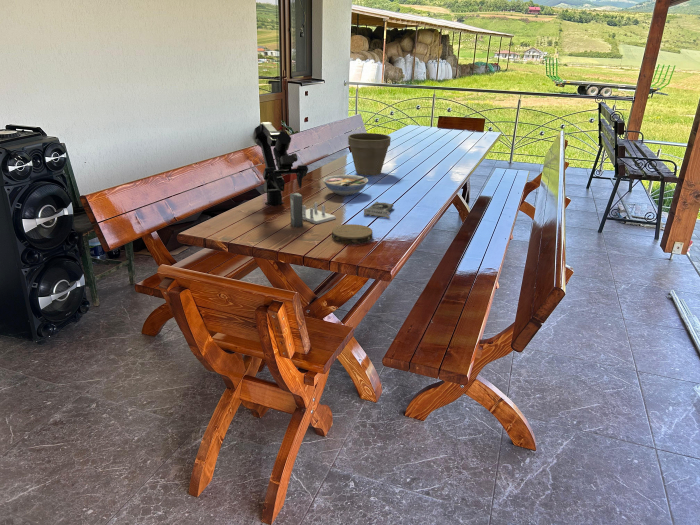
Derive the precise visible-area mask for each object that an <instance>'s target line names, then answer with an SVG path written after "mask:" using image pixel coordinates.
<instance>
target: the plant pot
mask: <svg viewBox="0 0 700 525" xmlns="http://www.w3.org/2000/svg"><path fill="white" fill-rule="evenodd" d="M347 139H348V140H347V141H348V142H347V144H348V146H349V148H350V153H351V156H352V160H353V165H354V168H355V172H356V174H357V173H358V174H357V175H360V174H361V175H360V176H367V175H372V176H377V175H380V174H381V172H382V170H383V167H384V163H385V160H386V157H387V153H388V149H389V147H390V146H391V140H392V139H391V136H390V135H388V134H383V133H377V132H373V133H372V132H359V133H357V132H356V133H352V134H349V135H348V137H347Z"/></svg>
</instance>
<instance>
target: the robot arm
mask: <svg viewBox="0 0 700 525" xmlns="http://www.w3.org/2000/svg"><path fill="white" fill-rule="evenodd" d="M253 139H254V140H255V143H256V145H257V146H258V147H260V149H261V153H262V158H263V162H264V165H265V167H264V169H263V173H262V178H263V180H264V183H263V191H264V192H265V193H266V200H267V201H266V202H264V204H265V205H268V206H274V207H277V206H280V205H281V204H284V203H285V202H284V201H283V195H282V192H284V191H285V184H286V181H285V179H284V178H283V175H292V174H295V175H296V181H297V185H298V188H299V189H300V190H301V189H302V185H303V184H302V182H303V179H304V178H305V177H306V176H307V174H308V171H309V167H308V165H306V164H299V165H298V164H297V167H296V168H293V167H294V163H297V161H299V159H298V155H297V153H292V154H289V153H288V150H289V148H290V145H291V142H292V137H291V136H290V135H289V134H288V133H286V131H285V130H279V131H278V130H277V129H276V128H275V127H274V126H273V124H272V122H271V121H267V122H266V121H262V122H260V123H259V125H258V126H256V127H255V128H254V130H253ZM272 147H273V149H272Z"/></svg>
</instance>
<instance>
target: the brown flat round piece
mask: <svg viewBox="0 0 700 525" xmlns="http://www.w3.org/2000/svg"><path fill="white" fill-rule="evenodd" d="M331 238H333V239H334V240H333V239H332V240H333V241H335V242H337V243H340V242H341V243H340V244H344V243H346V245H360V244H359V243H361V244H365V242H366V243H368V242H370V241H372V239H373V228H371V227H369V226H366V225H363V224H354V223H352V224H351V223H350V224H340V225H338V226H335V227H333V228H332V229H331Z"/></svg>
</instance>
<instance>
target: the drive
mask: <svg viewBox="0 0 700 525" xmlns="http://www.w3.org/2000/svg"><path fill="white" fill-rule="evenodd" d="M289 203H290V205H289V206H290V210H289V211H290V225H291V226H293V228H300V227H304V219H303V195H302V194H300V193H299V192H294V193H289Z"/></svg>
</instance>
